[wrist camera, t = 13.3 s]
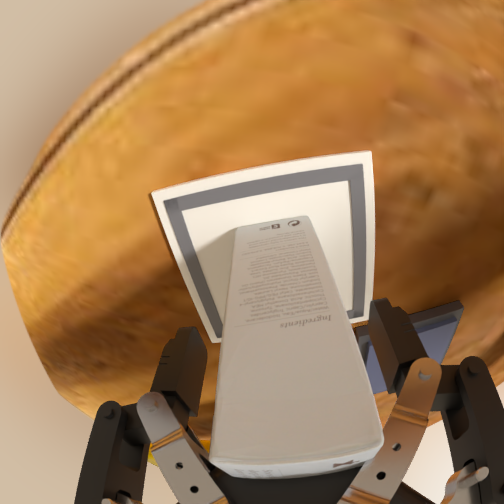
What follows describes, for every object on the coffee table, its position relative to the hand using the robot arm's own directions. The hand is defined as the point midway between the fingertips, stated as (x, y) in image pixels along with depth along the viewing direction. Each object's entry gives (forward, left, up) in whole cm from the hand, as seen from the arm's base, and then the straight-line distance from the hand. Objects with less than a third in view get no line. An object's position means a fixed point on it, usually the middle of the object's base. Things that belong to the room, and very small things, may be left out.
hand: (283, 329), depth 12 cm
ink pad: (-10, +12, -6) cm, 17 cm away
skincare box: (0, 0, -5) cm, 5 cm away
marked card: (0, 0, -6) cm, 6 cm away
